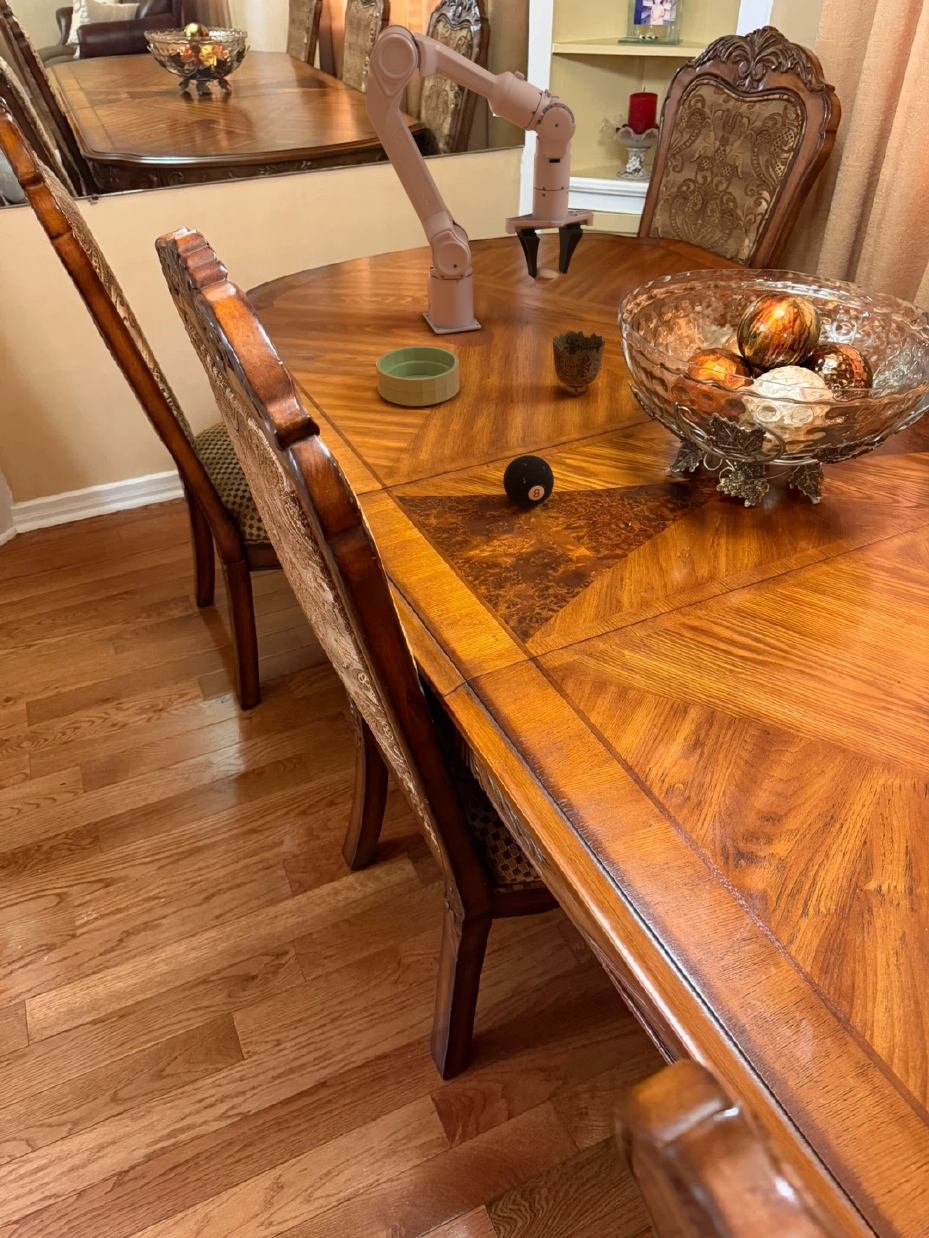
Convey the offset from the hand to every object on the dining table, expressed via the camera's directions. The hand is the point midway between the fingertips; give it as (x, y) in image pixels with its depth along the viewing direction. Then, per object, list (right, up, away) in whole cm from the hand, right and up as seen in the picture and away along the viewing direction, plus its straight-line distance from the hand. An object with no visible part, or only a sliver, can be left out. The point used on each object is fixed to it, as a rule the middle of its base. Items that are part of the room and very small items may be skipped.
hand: (547, 274), depth 149 cm
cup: (+3, -24, -17) cm, 30 cm away
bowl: (-21, -24, -16) cm, 35 cm away
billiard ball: (-6, -44, -41) cm, 60 cm away
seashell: (0, -1, +1) cm, 2 cm away
